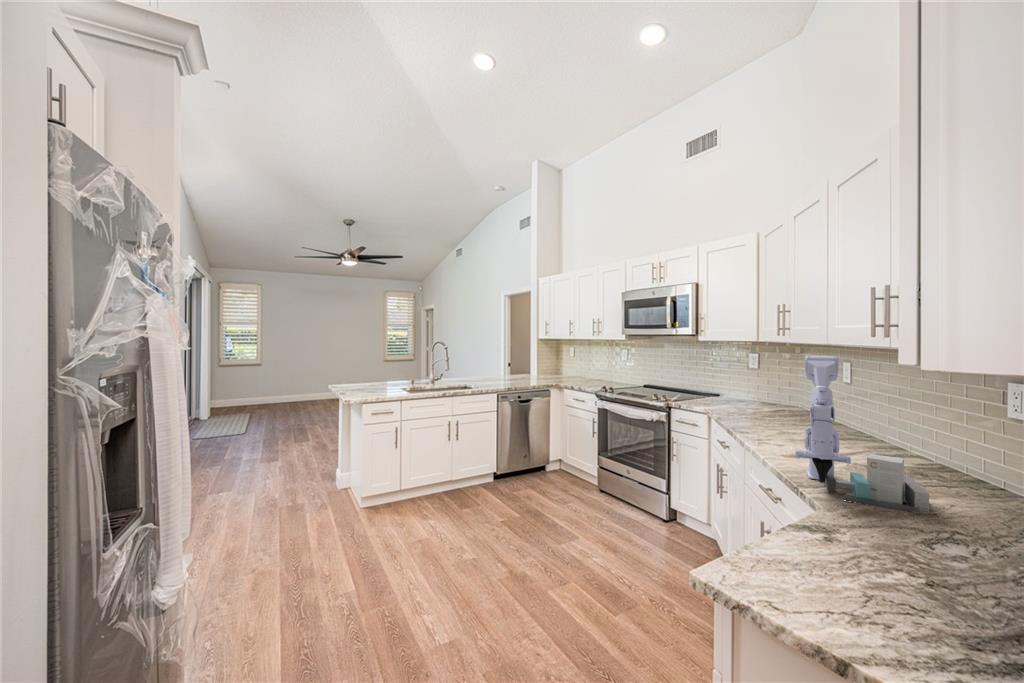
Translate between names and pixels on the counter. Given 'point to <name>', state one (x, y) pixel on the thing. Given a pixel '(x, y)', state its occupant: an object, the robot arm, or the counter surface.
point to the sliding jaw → (850, 485)
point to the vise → (912, 496)
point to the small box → (886, 478)
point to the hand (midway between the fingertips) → (822, 481)
